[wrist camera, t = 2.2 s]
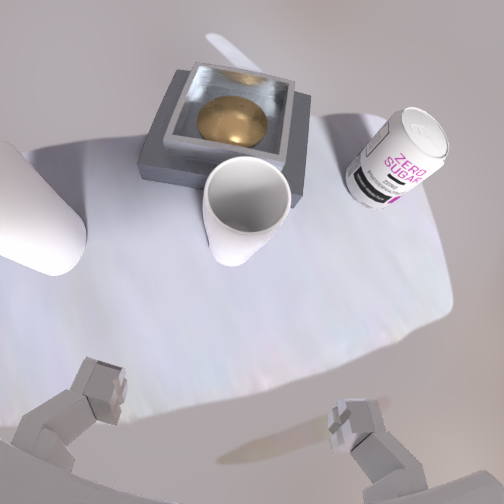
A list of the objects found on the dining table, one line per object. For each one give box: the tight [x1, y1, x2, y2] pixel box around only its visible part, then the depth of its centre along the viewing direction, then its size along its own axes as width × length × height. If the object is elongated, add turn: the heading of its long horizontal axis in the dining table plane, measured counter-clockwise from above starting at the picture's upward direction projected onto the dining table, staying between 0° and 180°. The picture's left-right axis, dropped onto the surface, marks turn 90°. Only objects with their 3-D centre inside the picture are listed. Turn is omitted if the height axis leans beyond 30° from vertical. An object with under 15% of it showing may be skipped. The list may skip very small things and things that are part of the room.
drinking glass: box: [203, 156, 291, 266], centre depth 30 cm, size 7×7×15 cm
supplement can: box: [345, 107, 449, 210], centre depth 35 cm, size 8×8×15 cm
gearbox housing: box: [137, 62, 311, 208], centre depth 37 cm, size 20×17×8 cm
